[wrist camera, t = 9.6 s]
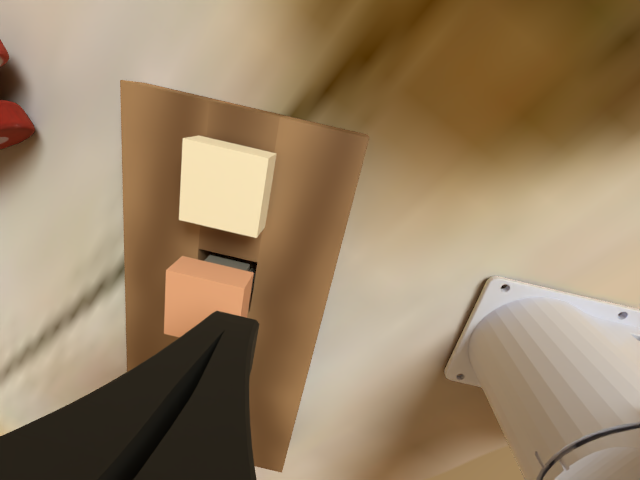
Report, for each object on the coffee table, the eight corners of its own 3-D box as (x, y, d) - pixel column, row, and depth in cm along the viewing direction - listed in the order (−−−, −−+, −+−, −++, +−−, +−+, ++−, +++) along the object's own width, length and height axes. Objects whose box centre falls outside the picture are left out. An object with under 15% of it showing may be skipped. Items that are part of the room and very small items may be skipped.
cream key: (284, 148, 17) (268, 158, 14) (273, 215, 19) (256, 238, 15) (215, 132, 17) (182, 138, 14) (209, 200, 19) (178, 219, 16)
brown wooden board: (367, 134, 17) (369, 137, 15) (286, 447, 27) (281, 472, 25) (145, 82, 17) (120, 79, 15) (143, 413, 27) (128, 436, 25)
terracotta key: (263, 256, 19) (244, 288, 15) (254, 310, 20) (235, 350, 17) (199, 241, 19) (165, 269, 15) (194, 296, 20) (163, 333, 17)
